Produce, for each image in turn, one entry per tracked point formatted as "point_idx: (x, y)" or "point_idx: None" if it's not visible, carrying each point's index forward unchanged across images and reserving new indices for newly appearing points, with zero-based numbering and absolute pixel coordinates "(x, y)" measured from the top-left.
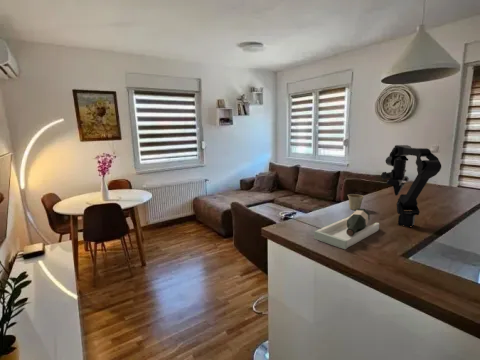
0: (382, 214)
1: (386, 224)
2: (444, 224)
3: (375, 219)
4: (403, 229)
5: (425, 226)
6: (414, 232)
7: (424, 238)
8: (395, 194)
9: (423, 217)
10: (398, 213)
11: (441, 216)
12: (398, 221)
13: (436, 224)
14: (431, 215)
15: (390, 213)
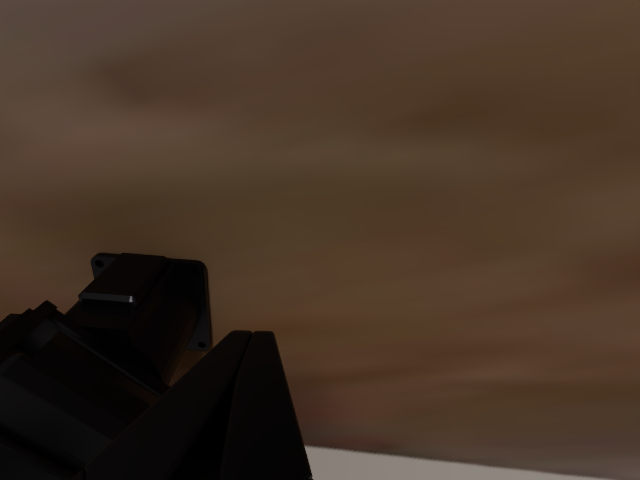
0: (333, 20)
1: (15, 178)
2: (389, 452)
3: (55, 27)
4: (35, 306)
5: None
6: None
7: None
8: (222, 353)
9: (492, 350)
10: (3, 321)
11: (605, 427)
12: (112, 262)
13: (352, 425)
14: (600, 381)
15: (450, 89)
